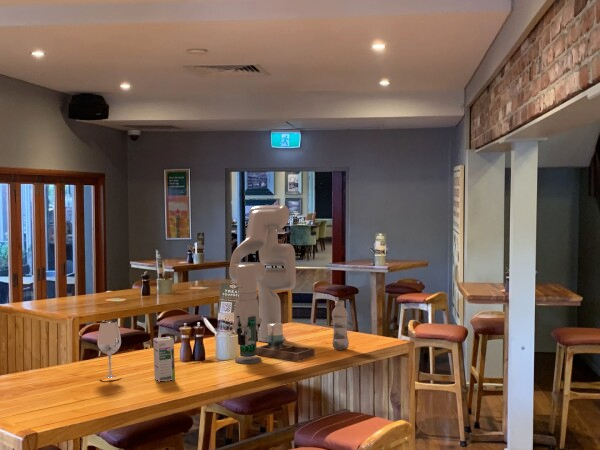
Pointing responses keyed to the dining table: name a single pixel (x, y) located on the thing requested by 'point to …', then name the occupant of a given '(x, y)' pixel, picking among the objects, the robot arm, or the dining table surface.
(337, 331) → the plastic bottle
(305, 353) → the brown wooden tray
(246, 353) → the can
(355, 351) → the dining table surface
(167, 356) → the syrup box
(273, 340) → the can
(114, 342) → the wineglass
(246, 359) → the slate coaster
